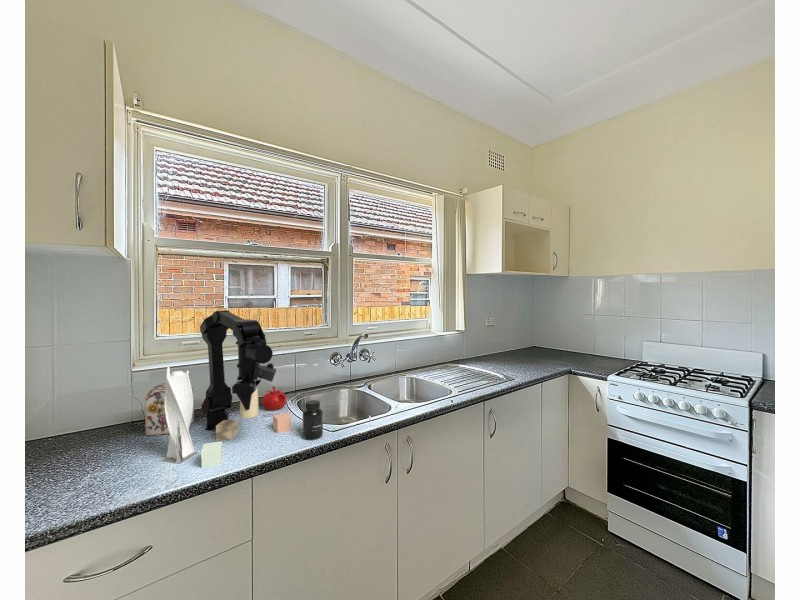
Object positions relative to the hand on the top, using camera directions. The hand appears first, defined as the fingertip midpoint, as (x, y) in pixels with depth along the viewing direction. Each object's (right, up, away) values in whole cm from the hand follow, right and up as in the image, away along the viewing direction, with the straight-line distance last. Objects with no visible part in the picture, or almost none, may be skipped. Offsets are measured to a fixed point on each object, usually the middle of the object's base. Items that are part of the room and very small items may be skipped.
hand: (249, 406), depth 115 cm
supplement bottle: (+19, -13, +7) cm, 24 cm away
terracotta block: (+6, -12, +13) cm, 19 cm away
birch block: (-11, -13, +7) cm, 18 cm away
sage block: (-7, -14, -10) cm, 18 cm away
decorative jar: (-35, -13, +15) cm, 40 cm away
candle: (0, -3, 0) cm, 3 cm away
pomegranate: (-5, -12, +36) cm, 38 cm away
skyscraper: (-19, -14, -6) cm, 24 cm away
